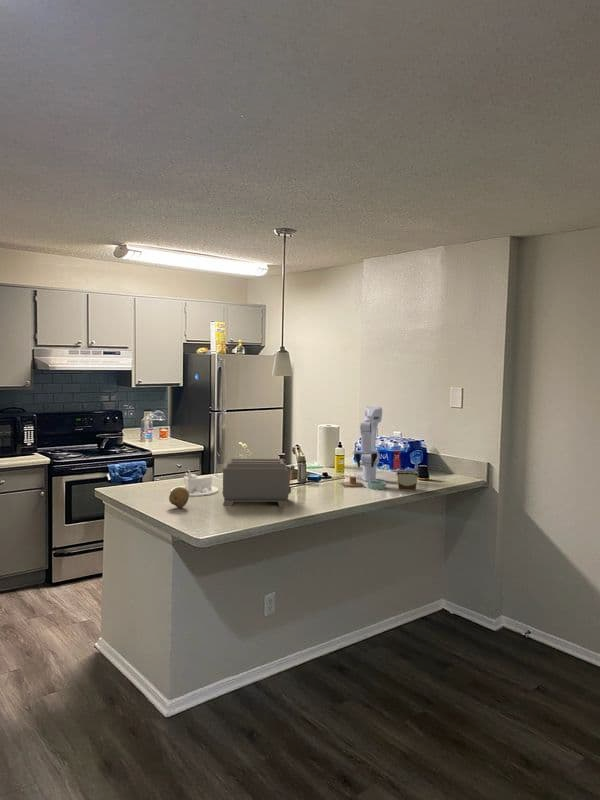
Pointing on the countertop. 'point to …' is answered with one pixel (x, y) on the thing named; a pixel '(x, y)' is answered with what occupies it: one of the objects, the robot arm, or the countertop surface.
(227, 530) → the countertop surface
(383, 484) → the bowl
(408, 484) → the food container
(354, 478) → the lid
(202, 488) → the dish
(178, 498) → the natural sponge
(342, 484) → the mat
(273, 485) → the toaster
